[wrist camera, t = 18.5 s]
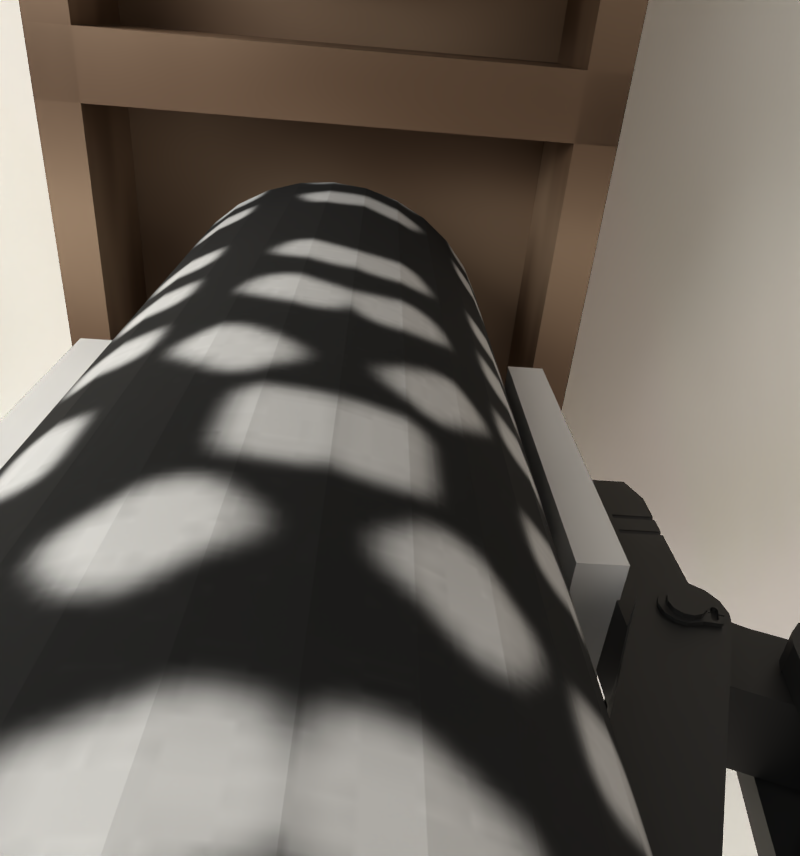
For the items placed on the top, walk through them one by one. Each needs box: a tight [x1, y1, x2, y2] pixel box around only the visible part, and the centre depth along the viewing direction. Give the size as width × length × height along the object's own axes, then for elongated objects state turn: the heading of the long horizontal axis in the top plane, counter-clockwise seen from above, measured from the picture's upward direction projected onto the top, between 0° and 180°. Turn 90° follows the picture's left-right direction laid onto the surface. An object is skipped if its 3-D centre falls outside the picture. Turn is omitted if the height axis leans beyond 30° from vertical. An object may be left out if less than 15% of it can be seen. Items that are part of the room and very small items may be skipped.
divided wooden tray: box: [19, 0, 648, 410], centre depth 18 cm, size 26×13×4 cm, turn 175°
